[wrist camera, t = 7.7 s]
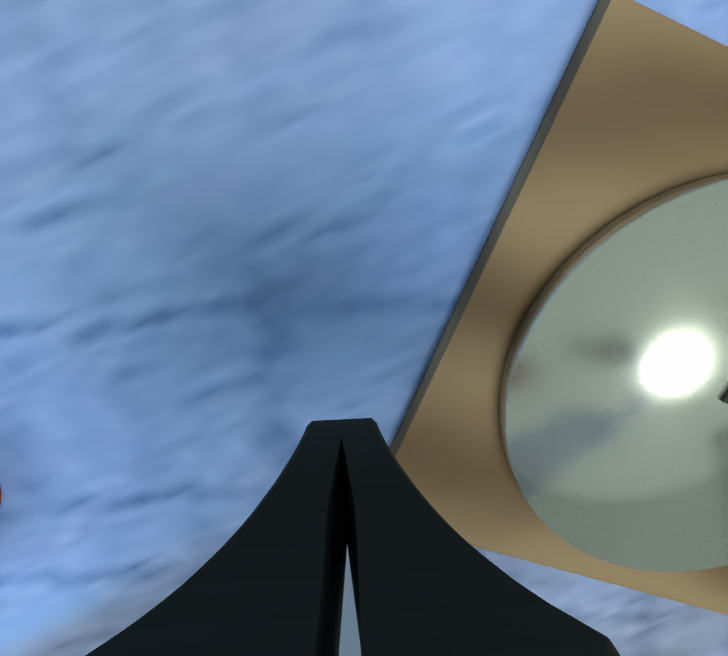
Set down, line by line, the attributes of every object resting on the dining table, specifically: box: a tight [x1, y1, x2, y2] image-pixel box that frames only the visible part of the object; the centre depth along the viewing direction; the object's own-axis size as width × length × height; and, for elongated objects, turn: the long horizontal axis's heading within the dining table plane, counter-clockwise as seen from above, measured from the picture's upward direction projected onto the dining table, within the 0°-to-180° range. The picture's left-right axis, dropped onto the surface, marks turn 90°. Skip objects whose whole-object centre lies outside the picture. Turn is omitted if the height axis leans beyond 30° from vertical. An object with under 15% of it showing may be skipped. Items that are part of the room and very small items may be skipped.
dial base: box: [390, 0, 728, 615], centre depth 21 cm, size 20×20×2 cm
